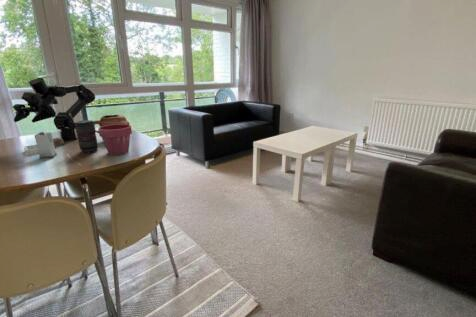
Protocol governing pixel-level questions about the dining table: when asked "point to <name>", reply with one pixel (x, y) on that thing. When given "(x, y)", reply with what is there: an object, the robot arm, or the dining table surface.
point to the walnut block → (58, 142)
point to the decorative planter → (111, 120)
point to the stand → (31, 150)
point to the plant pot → (116, 138)
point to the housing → (45, 145)
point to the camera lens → (86, 136)
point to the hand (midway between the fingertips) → (23, 121)
